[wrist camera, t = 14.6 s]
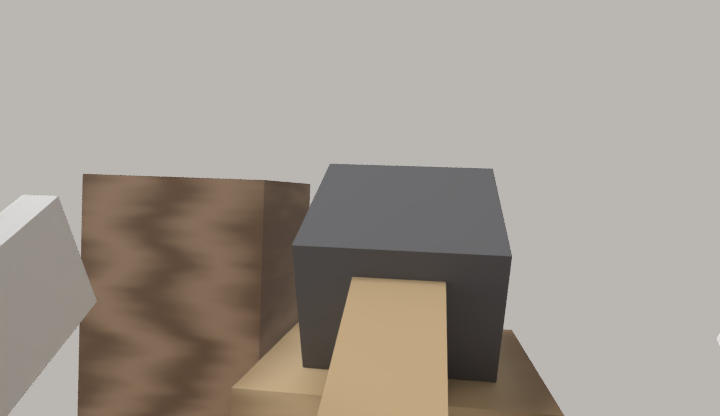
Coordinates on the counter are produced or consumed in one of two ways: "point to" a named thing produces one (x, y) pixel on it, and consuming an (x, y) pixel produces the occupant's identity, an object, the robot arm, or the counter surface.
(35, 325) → the robot arm
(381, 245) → the grey and tan block
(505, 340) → the oak step
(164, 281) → the walnut post
